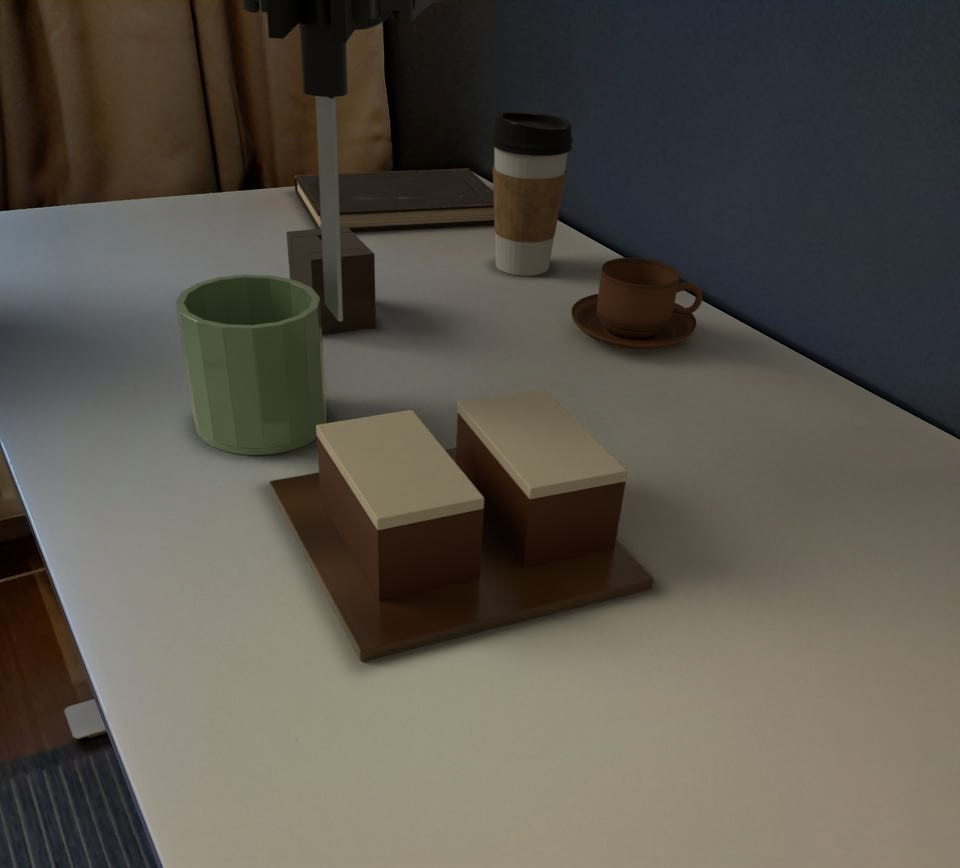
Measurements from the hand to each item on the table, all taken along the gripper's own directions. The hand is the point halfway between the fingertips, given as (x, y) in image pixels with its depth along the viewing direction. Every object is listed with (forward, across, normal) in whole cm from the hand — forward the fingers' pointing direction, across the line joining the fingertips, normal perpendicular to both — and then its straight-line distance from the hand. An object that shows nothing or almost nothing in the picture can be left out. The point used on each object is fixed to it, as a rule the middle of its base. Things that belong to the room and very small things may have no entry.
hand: (306, 9), depth 50 cm
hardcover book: (-68, +1, -30) cm, 74 cm away
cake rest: (+5, -5, -29) cm, 30 cm away
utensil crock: (-11, +7, -30) cm, 33 cm away
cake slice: (+1, -14, -29) cm, 32 cm away
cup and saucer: (-33, -25, -30) cm, 51 cm away
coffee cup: (-50, -14, -30) cm, 60 cm away
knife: (-5, 0, -18) cm, 18 cm away
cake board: (+4, -9, -30) cm, 31 cm away
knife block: (-33, +4, -30) cm, 45 cm away
